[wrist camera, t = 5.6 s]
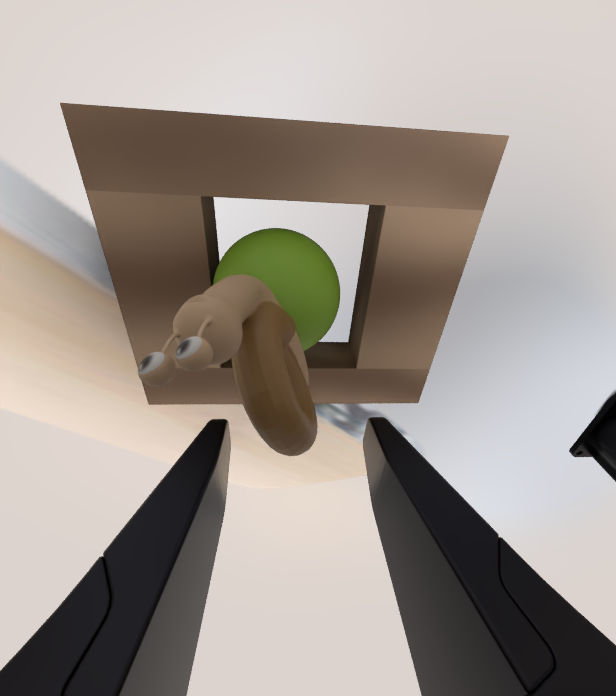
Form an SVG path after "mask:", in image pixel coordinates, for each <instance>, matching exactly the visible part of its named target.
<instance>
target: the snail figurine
mask: <svg viewBox="0 0 616 696" xmlns="http://www.w3.org/2000/svg"><path fill="white" fill-rule="evenodd" d="M339 302H340V286H339V280H338V276H337V272H336V270H335V267H334V265H333V263H332V261H331V260H330V258H329V257H328V255H327V254H326V252H325V251H324V250H323V249H322V248H321V247H320V246H319V245H318V244H317V243H316V242H314V241H313V240H312V239H310V238H308V237H307V236H305V235H303V234H300V233H298V232H295V231H292V230H288V229H281V228H271V229H263V230H259V231H256V232H253V233H250V234H249V235H246V236H244V237H243V238H241V239H240V240H238V241H237V242H236V243H234V244H233V245H232V246H231V247H230V248H229V250H228V251H227V252H226V253H225V255H224V256H223V257H222V259H221V261H220V263H219V265H218V267H217V270H216V273H215V277H214V282H213V286H211V287H210V288H208V289H207V290H206V291H205V292H204V293H203V294H201V295H197V296H194V297H192V298H190V299H189V300H188V301H186V302H185V303H184V304H183V306H182V307H181V308H180V310H179V311H178V313H177V314H176V316H175V318H174V321H173V332H174V334H172V336H171V337H170V338H169V339H168V341H167V342H166V344H165V345H164V347H163V349H162V351H161V352H153V353H151V354H149V355H148V356H146V357H145V358H144V359H143V360H142V361H141V363H140V364H139V367H138V375H139V377H140V379H141V380H142V381H143V382H144V383H145V384H147V385H150V386H155V387H158V386H163V385H165V384H167V383H169V382H170V381H171V380H172V379H173V377H174V375H175V373H176V365H175V362H174V360H173V359H172V357H171V356H169V355H168V354H166V351H167V349H168V347H169V345H170V344H171V342H172V341H173V340H174V339H175V340H176V342H177V344H178V347H177V349H176V353H175V356H176V361H177V363H178V364H179V366H180V367H181V368H183V369H184V370H187V371H190V372H198V371H201V370H203V369H205V368H206V367H207V366H208V365H218V364H222V363H224V362H226V361H228V360H229V359H231V358H232V366H233V372H234V376H235V381H236V385H237V388H238V391H239V395H240V398H241V400H242V403H243V405H244V408H245V410H246V413H247V415H248V417H249V419H250V420H251V422H252V424H253V426H254V428H255V429H256V431H257V432H258V434H259V435H260V436H261V438H262V439H263V440H264V441H265V442H266V443H267V444H268V445H269V446H270V447H271V448H272V449H274V450H275V451H276V452H278V453H281V454H284V455H287V456H296V455H300V454H302V453H304V452H306V451H307V450H309V449H310V447H311V446H312V445H313V443H314V441H315V439H316V435H317V417H316V412H315V407H314V403H313V400H312V396H311V393H310V390H309V388H308V384H309V376H308V368H307V363H306V359H305V355H304V351H305V350H307V349H308V348H310V347H312V346H313V345H315V344H316V343H317V342H318V341H319V340H321V339H322V338H323V336H324V335H325V334H326V333H327V331H328V330H329V329H330V327H331V325H332V324H333V322H334V320H335V317H336V314H337V311H338V308H339Z"/></svg>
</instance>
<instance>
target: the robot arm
mask: <svg viewBox="0 0 616 696" xmlns="http://www.w3.org/2000/svg"><path fill="white" fill-rule="evenodd" d="M363 449H364V456H365V463H366V469H367V476H368V483H369V490H370V496H371V502H372V507H373V512H374V516H375V520H376V524H377V527H378V531H379V535H380V539H381V543H382V546H383V550H384V554H385V557H386V562H387V565H388V569H389V573H390V577H391V580H392V584H393V588H394V592H395V596H396V600H397V603H398V607H399V611H400V615H401V618H402V622H403V626H404V630H405V634H406V637H407V641H408V645H409V649H410V652H411V657H412V660H413V664H414V668H415V671H416V676H417V679H418V683H419V687H420V691H421V695H422V696H616V645H615V644H614V643H613V642H611V641H610V640H609V639H608V638H607V637H606V636H605V635H604V634H603V633H601V632H600V631H599V630H598V629H597V628H596V627H595V626H594V625H593V624H591V623H590V622H589V621H588V620H587V619H586V618H585V617H584V616H582V615H581V614H580V613H579V612H578V611H577V610H576V609H575V608H574V607H573V606H571V605H570V604H569V603H568V602H567V601H566V600H565V599H564V598H563V597H562V596H561V595H560V594H558V593H557V592H556V591H555V590H554V589H553V588H552V587H551V586H550V585H549V584H548V583H546V581H545V580H543V579H542V578H541V577H540V576H539V575H538V574H537V573H536V572H535V571H534V570H533V569H532V568H531V567H530V566H529V565H528V564H527V563H526V562H525V561H524V560H523V559H522V558H521V557H520V556H519V555H518V554H517V553H516V552H515V551H514V550H513V549H512V548H511V547H510V546H509V545H508V544H507V542H506V541H505V540H503V538H501V537H498V534H497V532H496V531H495V530H494V529H493V528H492V527H491V526H490V525H489V524H488V523H487V522H486V521H485V520H484V519H483V518H482V517H481V516H480V515H479V514H478V513H477V512H476V511H475V510H474V509H473V508H472V507H471V506H470V505H469V504H468V502H466V500H464V498H463V497H462V496H461V495H460V494H459V493H458V492H457V491H456V490H455V489H454V488H453V487H452V486H451V485H450V484H449V483H448V482H447V481H446V480H445V479H444V478H443V477H442V476H441V475H440V474H439V473H438V472H437V471H436V470H435V469H434V467H433V466H432V465H431V464H429V462H428V461H427V460H426V459H425V458H424V457H423V456H422V455H421V454H420V453H419V452H418V451H417V450H416V449H415V448H414V447H413V446H412V445H411V444H410V443H409V442H408V441H407V440H406V439H405V438H404V437H403V436H402V435H401V434H400V432H399V431H398V430H397V429H396V428H395V427H394V426H393V425H392V424H391V423H390V422H389V421H388V420H387V419H385V418H383V417H371V418H369V419H368V421H367V425H366V429H365V434H364V438H363ZM230 450H231V441H230V432H229V424H228V421H227V420H226V419H212V420H210V421H209V422H208V423H207V424H206V426H205V427H204V428H203V429H202V431H201V432H200V433H199V434H198V436H197V437H196V438H195V439H194V441H193V442H192V443H191V444H190V446H189V447H188V448H187V449H186V451H185V452H184V453H183V454H182V456H181V457H180V458H179V459H178V461H177V462H176V463H175V464H174V466H173V467H172V468H171V469H170V470H169V472H168V473H167V474H166V476H165V477H164V478H163V479H162V480H161V482H160V483H159V484H158V485H157V487H156V488H155V489H154V490H153V492H152V493H151V494H150V495H149V497H148V498H147V499H146V500H145V502H144V503H143V504H142V505H141V507H140V508H139V509H138V510H137V512H136V513H135V514H134V515H133V517H132V518H131V519H130V520H129V522H128V523H127V524H126V525H125V527H124V528H123V529H122V530H121V531H120V533H119V534H118V535H117V536H116V538H115V539H114V540H113V541H112V543H111V544H110V545H109V546H108V548H107V549H106V550H105V551H104V553H103V555H104V557H103V556H101V557H99V558H98V560H97V561H96V562H95V563H94V565H93V566H92V567H91V569H90V570H89V571H88V572H87V574H86V575H85V576H84V577H83V578H82V580H81V581H80V582H79V583H78V584H77V586H76V587H75V588H74V589H73V590H72V592H71V593H70V594H69V595H68V596H67V598H66V599H65V600H64V601H63V602H62V604H61V605H60V606H59V607H58V608H57V609H56V611H55V612H54V613H53V614H52V615H51V616H50V617H49V618H48V619H47V620H46V622H45V623H44V624H43V625H42V626H41V627H40V628H39V629H38V631H37V632H36V633H35V634H34V635H33V636H32V637H31V638H30V639H29V640H28V641H27V643H26V644H25V645H24V646H23V647H22V648H21V649H20V650H19V651H18V653H16V655H15V656H14V657H13V658H12V659H11V660H10V661H9V662H8V663H7V664H6V665H5V667H3V669H2V670H1V671H0V696H186V695H187V690H188V685H189V680H190V675H191V671H192V666H193V661H194V656H195V652H196V647H197V642H198V637H199V632H200V627H201V623H202V618H203V613H204V609H205V604H206V599H207V594H208V589H209V585H210V580H211V575H212V570H213V566H214V561H215V556H216V551H217V546H218V541H219V536H220V531H221V527H222V523H223V517H224V512H225V503H226V494H227V483H228V472H229V461H230ZM569 452H570V453H571V454H572V455H573V456H574V457H593V458H594V459H595V460H596V461H597V462H598V463H599V464H600V465H601V466H602V468H603V469H604V470H605V471H606V472H607V473H608V474H609V475H610V476H611V477H612V478H613V479H614V480H615V481H616V394H615V395H613V396H612V397H611V398H610V399H609V400H608V401H607V402H606V404H605V405H604V406H603V408H602V409H601V410H600V411H599V413H598V414H597V415H596V416H595V418H594V419H593V420H592V422H591V423H590V424H589V425H588V427H587V428H586V429H585V431H584V432H583V433H582V434H581V436H580V437H579V438H578V439H577V441H576V442H575V443H574V445H573V446H572V447H571V448H570V450H569Z"/></svg>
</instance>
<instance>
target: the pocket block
mask: <svg viewBox="0 0 616 696" xmlns="http://www.w3.org/2000/svg"><path fill="white" fill-rule="evenodd" d="M60 105H61V108H62V111H63V115H64V118H65V122H66V125H67V129H68V132H69V135H70V139H71V142H72V146H73V149H74V153H75V156H76V159H77V163H78V166H79V170H80V173H81V176H82V180H83V183H84V186H85V189H86V193H87V197H88V200H89V204H90V207H91V210H92V214H93V217H94V220H95V224H96V227H97V231H98V234H99V237H100V241H101V244H102V248H103V251H104V254H105V258H106V261H107V265H108V268H109V271H110V275H111V278H112V282H113V285H114V288H115V292H116V295H117V299H118V302H119V305H120V309H121V312H122V316H123V319H124V322H125V326H126V329H127V333H128V336H129V339H130V343H131V346H132V350H133V353H134V356H135V360H136V363H137V367H139V364H140V363H141V361H142V360H143V359H144V358H145V357H146V356H148V355H149V354H151V353H153V352H161V351H162V349H163V347H164V345H165V344H166V342H167V341H168V339H169V338H170V337H171V336H172V334H174V332H173V321H174V318H175V316H176V314H177V313H178V311H179V310H180V308H181V307H182V306H183V304H184V303H185V302H186V301H188V300H189V299H190V298H192V297H194V296H197V295H201V294H203V293H204V292H205V291H206V290H207V289H208V288H210V287H211V286H213V282H214V277H215V273H216V270H217V267H218V265H219V263H220V262H219V252H218V241H217V230H216V220H215V210H214V199H213V197H228V198H249V199H268V200H287V201H308V202H327V203H346V204H366V205H369V212H368V218H367V225H366V232H365V239H364V244H363V251H362V257H361V264H360V270H359V277H358V283H357V290H356V297H355V303H354V309H353V315H352V322H351V329H350V335H349V341H348V342H317V343H316V344H315V345H313V346H312V347H310V348H308V349H307V350H305V351H304V355H305V359H306V363H307V368H308V376H309V384H308V388H309V390H310V393H311V396H312V400H313V403H314V404H332V403H418V402H419V399H420V396H421V393H422V390H423V387H424V384H425V382H426V379H427V376H428V373H429V369H430V367H431V364H432V361H433V358H434V355H435V352H436V349H437V346H438V343H439V340H440V338H441V335H442V332H443V329H444V326H445V323H446V320H447V317H448V314H449V311H450V308H451V305H452V302H453V299H454V296H455V294H456V290H457V288H458V285H459V282H460V279H461V276H462V273H463V270H464V267H465V264H466V261H467V258H468V255H469V252H470V249H471V246H472V244H473V241H474V238H475V235H476V232H477V229H478V226H479V223H480V220H481V217H482V214H483V211H484V208H485V205H486V202H487V199H488V196H489V194H490V190H491V188H492V185H493V182H494V179H495V176H496V173H497V170H498V167H499V164H500V161H501V159H502V156H503V153H504V150H505V147H506V144H507V141H508V138H509V136H505V135H490V134H476V133H464V132H449V131H436V130H422V129H409V128H395V127H382V126H367V125H354V124H341V123H327V122H314V121H299V120H286V119H273V118H259V117H244V116H231V115H218V114H205V113H189V112H177V111H164V110H150V109H137V108H123V107H109V106H96V105H82V104H69V103H60ZM177 347H178V344H177V342H176V340H175V339H174V340H173V341H172V342H171V344H170V345H169V347H168V349H167V351H166V354H168V355H169V356H171V357H172V359H173V360H174V362H175V365H176V373H175V375H174V377H173V379H172V380H171V381H170V382H169V383H167V384H165V385H163V386H158V387H155V386H150V385H147V384H145V383H144V382H143V381H142V384H143V387H144V390H145V394H146V397H147V401H148V404H149V405H150V404H243V403H242V400H241V398H240V395H239V391H238V388H237V385H236V381H235V376H234V372H233V366H232V358H231V359H229V360H228V361H226V362H224V363H222V364H218V365H208V366H207V367H206V368H205V369H203V370H201V371H198V372H190V371H187V370H184V369H183V368H181V367H180V366H179V364H178V363H177V361H176V356H175V353H176V349H177Z"/></svg>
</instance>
